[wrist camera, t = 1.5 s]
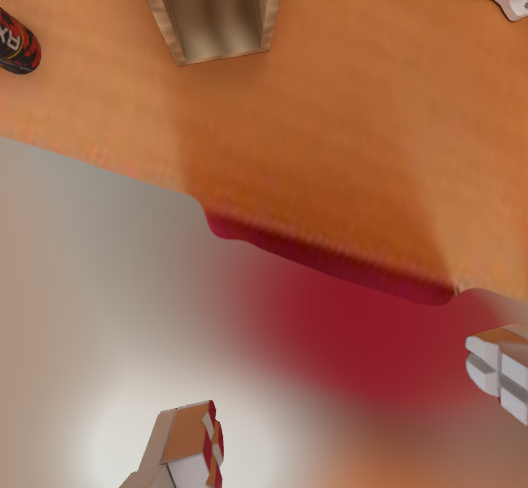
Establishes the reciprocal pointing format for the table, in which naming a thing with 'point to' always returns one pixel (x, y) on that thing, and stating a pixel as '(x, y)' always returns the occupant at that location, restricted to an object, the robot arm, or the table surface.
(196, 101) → the table surface
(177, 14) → the bottle rack
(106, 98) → the table surface
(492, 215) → the table surface
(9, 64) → the deodorant
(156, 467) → the robot arm
